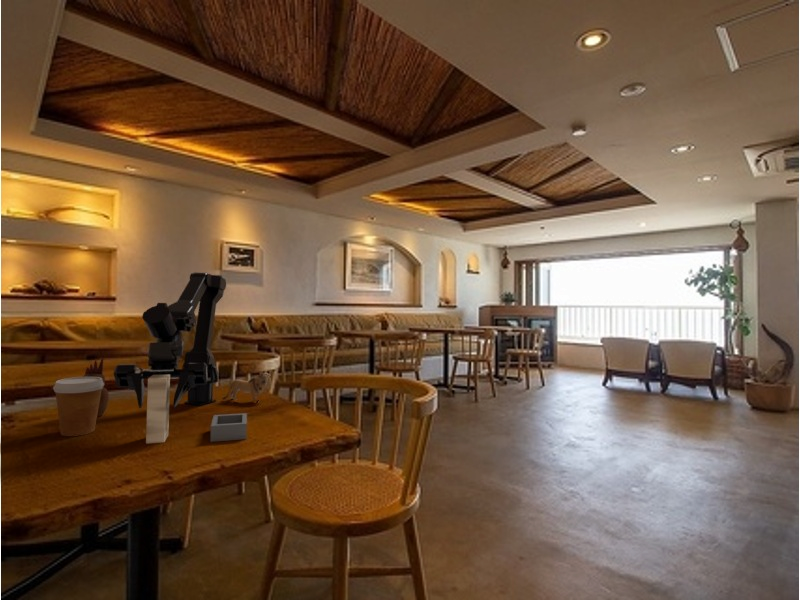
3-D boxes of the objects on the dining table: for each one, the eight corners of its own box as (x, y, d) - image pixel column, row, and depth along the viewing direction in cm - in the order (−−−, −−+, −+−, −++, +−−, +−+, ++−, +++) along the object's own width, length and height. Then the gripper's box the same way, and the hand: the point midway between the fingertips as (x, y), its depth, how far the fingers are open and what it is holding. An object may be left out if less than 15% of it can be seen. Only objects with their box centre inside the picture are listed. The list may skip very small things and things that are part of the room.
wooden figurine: (113, 413, 114) (114, 357, 114) (95, 419, 108) (97, 360, 108) (89, 412, 115) (91, 356, 115) (71, 418, 109) (72, 359, 109)
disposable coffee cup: (62, 441, 92) (63, 386, 92) (44, 433, 97) (45, 380, 97) (110, 430, 100) (112, 379, 100) (92, 423, 105) (93, 374, 105)
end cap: (213, 429, 103) (213, 415, 103) (246, 427, 106) (246, 413, 106) (210, 441, 95) (210, 425, 95) (246, 439, 97) (246, 423, 97)
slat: (150, 436, 97) (152, 374, 97) (168, 435, 98) (170, 374, 98) (146, 443, 92) (148, 378, 92) (164, 442, 94) (166, 378, 94)
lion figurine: (272, 399, 135) (273, 371, 135) (268, 404, 129) (269, 374, 129) (225, 399, 134) (226, 370, 134) (218, 403, 128) (219, 373, 128)
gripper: (117, 328, 96) (99, 387, 85) (208, 329, 102) (202, 384, 92) (125, 358, 103) (110, 416, 93) (209, 357, 110) (204, 411, 99)
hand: (157, 406), depth 94 cm, fingers open, 6 cm apart
